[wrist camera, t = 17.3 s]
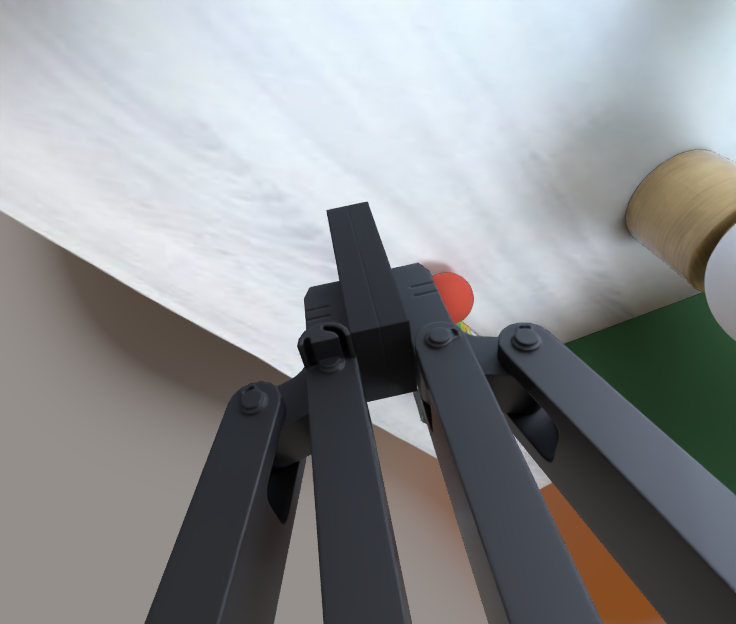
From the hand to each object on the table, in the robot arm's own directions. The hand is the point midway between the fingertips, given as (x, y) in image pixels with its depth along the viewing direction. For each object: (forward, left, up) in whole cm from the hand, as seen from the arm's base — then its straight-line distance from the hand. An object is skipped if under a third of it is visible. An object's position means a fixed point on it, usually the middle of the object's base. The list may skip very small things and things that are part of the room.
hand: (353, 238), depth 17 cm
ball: (+10, -24, -23) cm, 35 cm away
